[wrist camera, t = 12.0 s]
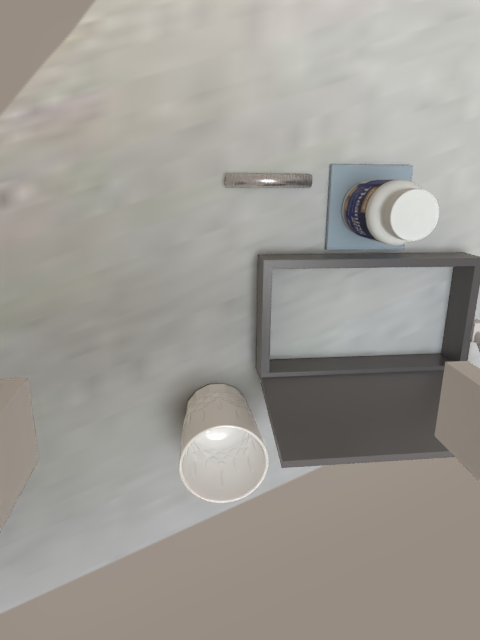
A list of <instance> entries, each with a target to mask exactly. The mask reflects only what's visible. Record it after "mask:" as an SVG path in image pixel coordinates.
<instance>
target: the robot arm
mask: <svg viewBox="0 0 480 640" xmlns="http://www.w3.org/2000/svg"><path fill="white" fill-rule="evenodd" d="M435 437H436V438H437V439H438V440H439V441H440V442H441V443H442V444H443V445H444V446H445V447H446V448H447V449H448V450H449V451H450V452H451V453H452V454H453V455H454V456H455V457H456V458H457V459H458V460H459V462H460V463H461V464H462V465H463V466H464V467H465V468H466V469H467V470H468V471H469V472H470V473H471V474H472V475H473V476H474V477H475V478H476V479H477V480H478V481H479V482H480V369H479V368H478V367H476V366H474V365H473V364H471V363H470V362H468V361H453V362H445V368H444V374H443V381H442V388H441V395H440V402H439V408H438V415H437V422H436V429H435ZM38 460H39V454H38V447H37V439H36V432H35V425H34V418H33V410H32V403H31V396H30V389H29V381H28V378H10V379H0V532H1V530H2V528H3V526H4V524H5V522H6V520H7V518H8V517H9V515H10V513H11V511H12V509H13V507H14V505H15V503H16V501H17V500H18V498H19V496H20V494H21V492H22V490H23V488H24V486H25V484H26V483H27V481H28V479H29V477H30V475H31V473H32V471H33V469H34V467H35V466H36V464H37V462H38Z"/></svg>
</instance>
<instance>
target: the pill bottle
mask: <svg viewBox="0 0 480 640" xmlns="http://www.w3.org/2000/svg"><path fill="white" fill-rule="evenodd" d="M342 215H343V219H344V222H345V224H346V226H347V227H348V228H349V230H351V231H352V232H353V233H355V234H357V235H359V236H361V237H365V238H368V239H371V240H374V241H377V242H381V243H384V244H387V245H403V244H406V243H409V242H411V241H417V240H420V239H422V238H424V237H426V236H427V235H429V234H430V233H431V232H432V230H433V229H434V228H435V226H436V224H437V221H438V218H439V206H438V203H437V201H436V199H435V197H434V196H433V195H432V194H431V193H429V192H428V191H426V190H423V189H422V188H421V187H420V186H419V185H417V184H416V183H414V182H411V181H408V180H402V179H398V180H367V181H363V182H360V183H358V184H357V185H355V186H354V187H353V188H351V190H350V191H349V192H348V193H347V195H346V197H345V199H344V202H343V206H342Z"/></svg>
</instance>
